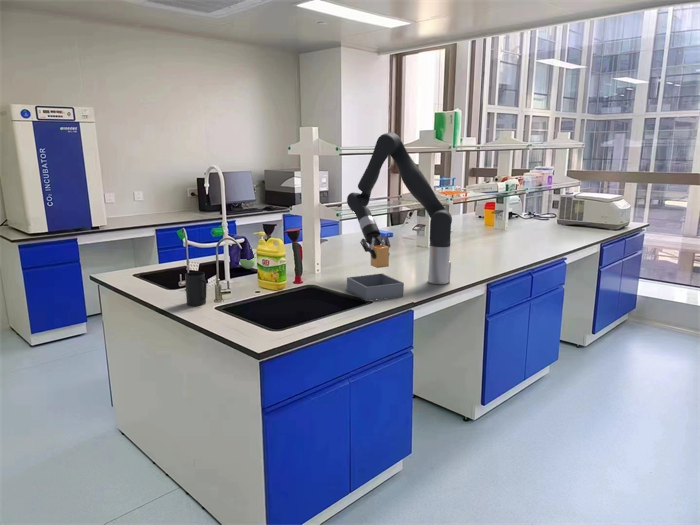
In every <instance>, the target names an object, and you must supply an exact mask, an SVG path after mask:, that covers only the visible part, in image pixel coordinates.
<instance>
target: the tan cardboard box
mask: <svg viewBox="0 0 700 525" xmlns="http://www.w3.org/2000/svg"><path fill="white" fill-rule="evenodd" d="M373 250H374V251H375V254H376V259H373V258H372V256H371V255H370V266H371V267H374V268H375V269H376V268H377V269H380V268H388V267H390V266H389V263H390V255H389V253H390V248H389V247H387V246H383V245H381V244H380V245H376V246H374V247H373Z"/></svg>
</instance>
